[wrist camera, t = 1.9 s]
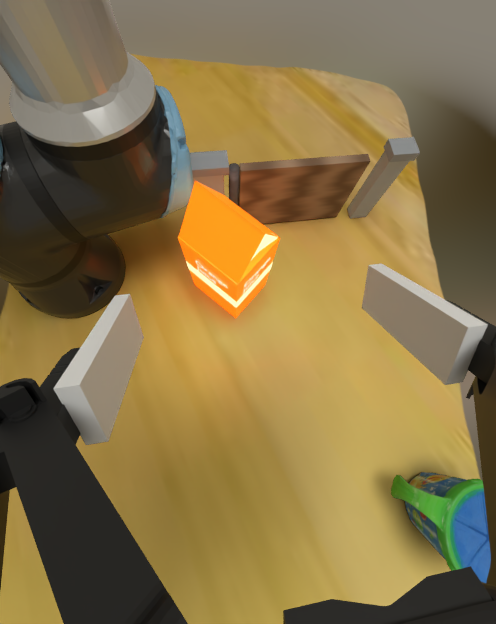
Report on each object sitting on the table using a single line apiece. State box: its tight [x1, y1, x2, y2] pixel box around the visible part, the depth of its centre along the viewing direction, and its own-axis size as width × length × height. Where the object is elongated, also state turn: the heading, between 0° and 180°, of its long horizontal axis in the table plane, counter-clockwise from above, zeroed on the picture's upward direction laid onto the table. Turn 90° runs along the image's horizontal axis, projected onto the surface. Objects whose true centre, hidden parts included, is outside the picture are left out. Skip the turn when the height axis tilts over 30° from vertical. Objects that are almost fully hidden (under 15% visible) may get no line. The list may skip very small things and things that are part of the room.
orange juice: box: [178, 181, 280, 318], centre depth 35 cm, size 8×9×20 cm
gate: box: [229, 154, 370, 224], centre depth 42 cm, size 19×2×12 cm, turn 98°
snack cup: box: [391, 472, 491, 583], centre depth 32 cm, size 16×10×10 cm
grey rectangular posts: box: [190, 137, 420, 218], centre depth 41 cm, size 30×3×14 cm, turn 98°
